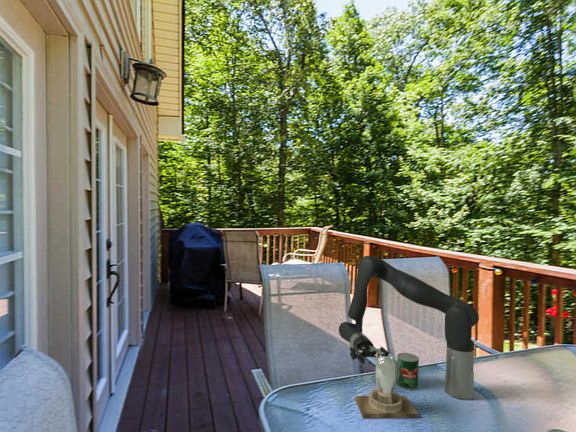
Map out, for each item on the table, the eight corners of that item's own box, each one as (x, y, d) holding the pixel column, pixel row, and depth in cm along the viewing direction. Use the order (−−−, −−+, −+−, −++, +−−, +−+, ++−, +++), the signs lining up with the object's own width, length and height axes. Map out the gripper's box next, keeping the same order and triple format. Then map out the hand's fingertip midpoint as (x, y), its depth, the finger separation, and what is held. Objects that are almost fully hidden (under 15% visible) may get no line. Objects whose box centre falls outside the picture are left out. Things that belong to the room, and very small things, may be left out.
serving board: (405, 400, 128) (405, 388, 128) (417, 418, 117) (418, 405, 117) (355, 400, 127) (355, 388, 127) (363, 418, 116) (363, 406, 116)
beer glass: (396, 410, 118) (398, 365, 117) (374, 408, 119) (376, 363, 119) (394, 399, 125) (396, 357, 124) (374, 397, 126) (375, 354, 126)
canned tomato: (405, 391, 134) (406, 362, 133) (392, 381, 141) (393, 354, 141) (422, 388, 137) (423, 359, 136) (408, 378, 144) (409, 351, 144)
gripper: (344, 335, 148) (356, 351, 132) (378, 335, 149) (394, 350, 133) (344, 353, 148) (355, 371, 132) (377, 353, 149) (393, 370, 133)
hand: (375, 361), depth 132 cm, fingers open, 8 cm apart
